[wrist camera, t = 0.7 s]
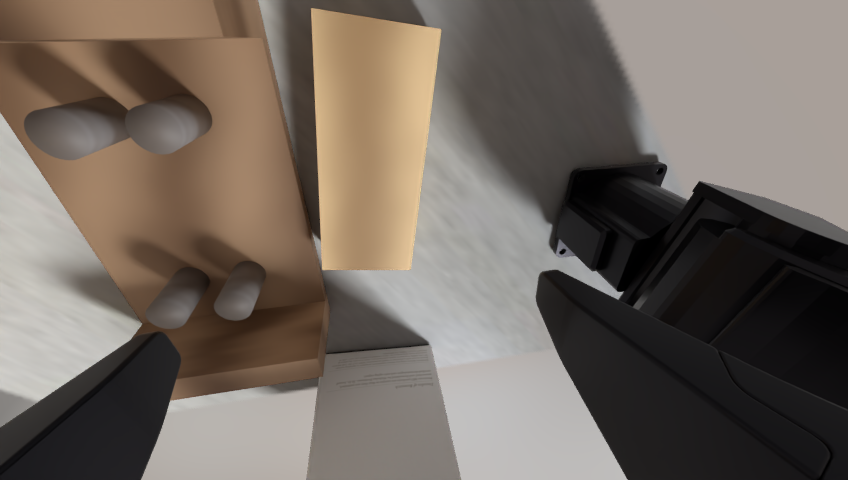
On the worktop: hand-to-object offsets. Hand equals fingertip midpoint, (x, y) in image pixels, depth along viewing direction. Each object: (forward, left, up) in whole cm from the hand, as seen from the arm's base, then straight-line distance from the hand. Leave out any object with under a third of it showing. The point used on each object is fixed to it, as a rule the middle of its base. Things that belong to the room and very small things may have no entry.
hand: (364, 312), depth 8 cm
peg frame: (+9, +2, -12) cm, 15 cm away
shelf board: (-1, 0, -12) cm, 12 cm away
